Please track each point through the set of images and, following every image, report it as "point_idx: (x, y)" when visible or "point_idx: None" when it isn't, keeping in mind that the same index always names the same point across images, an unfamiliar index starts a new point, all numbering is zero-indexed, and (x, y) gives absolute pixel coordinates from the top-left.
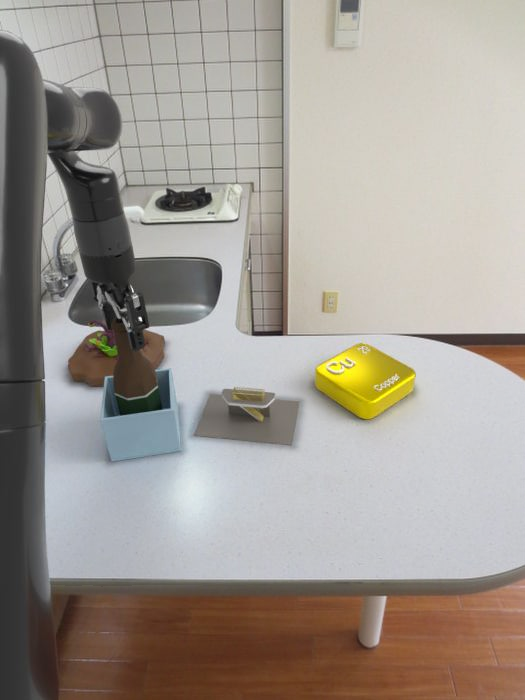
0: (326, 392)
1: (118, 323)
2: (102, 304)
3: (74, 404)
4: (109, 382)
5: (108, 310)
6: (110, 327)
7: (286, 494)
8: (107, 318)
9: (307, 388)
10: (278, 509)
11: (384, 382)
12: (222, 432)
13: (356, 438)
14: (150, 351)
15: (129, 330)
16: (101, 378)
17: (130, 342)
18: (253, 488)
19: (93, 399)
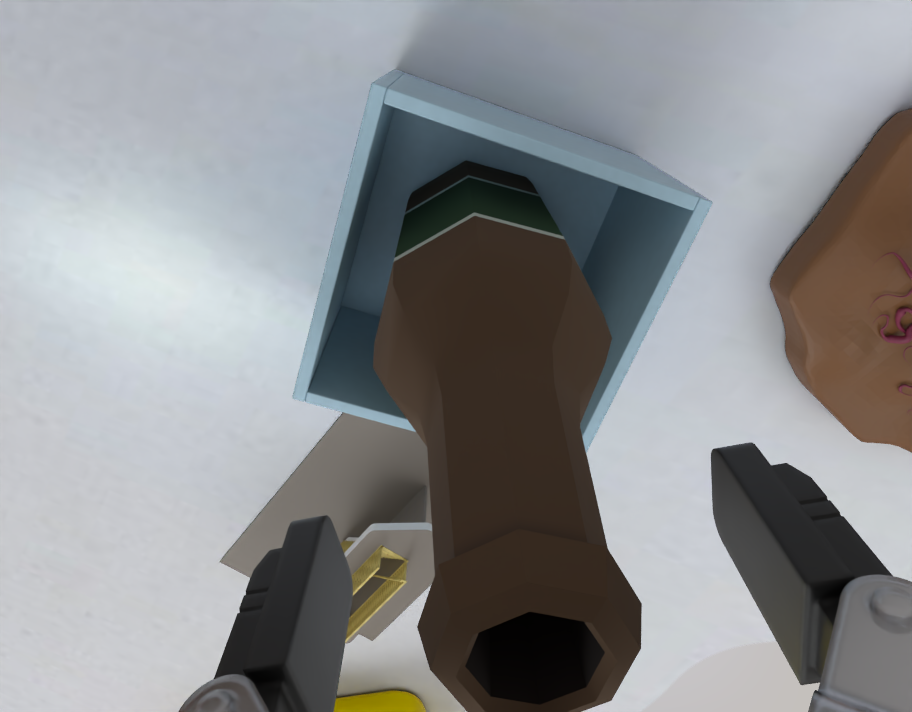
0: (356, 704)
1: (470, 633)
2: (829, 678)
3: (832, 9)
4: (680, 207)
5: (797, 614)
6: (718, 471)
7: (53, 482)
8: (759, 530)
9: (412, 674)
10: (8, 446)
11: None
12: (352, 440)
13: (183, 675)
14: (885, 401)
15: (191, 708)
16: (878, 172)
17: (284, 571)
18: (100, 425)
19: (802, 100)
